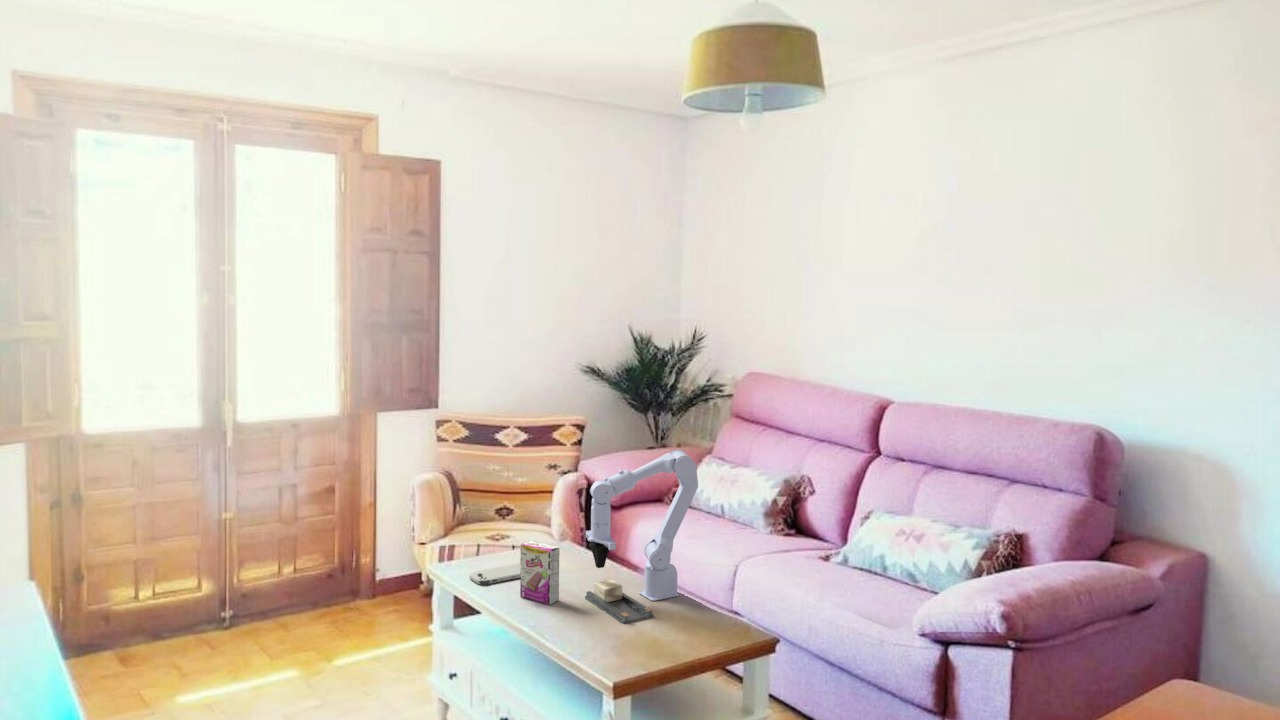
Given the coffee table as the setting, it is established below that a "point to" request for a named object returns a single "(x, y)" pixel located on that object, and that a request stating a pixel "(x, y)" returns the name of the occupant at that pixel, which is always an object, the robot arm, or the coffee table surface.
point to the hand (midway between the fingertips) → (600, 567)
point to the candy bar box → (539, 572)
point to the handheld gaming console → (496, 574)
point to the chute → (621, 608)
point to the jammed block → (608, 590)
